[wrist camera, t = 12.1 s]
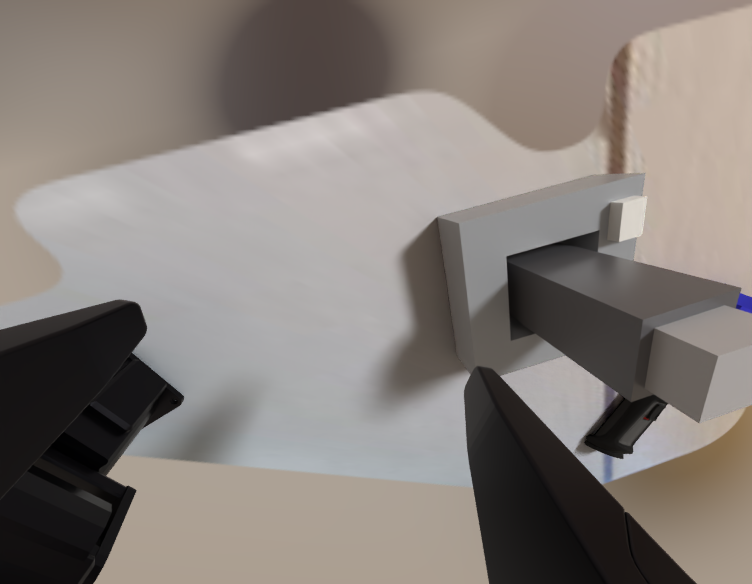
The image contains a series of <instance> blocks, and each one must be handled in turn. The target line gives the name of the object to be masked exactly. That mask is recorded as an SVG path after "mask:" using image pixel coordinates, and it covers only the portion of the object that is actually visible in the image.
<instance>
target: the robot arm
mask: <svg viewBox="0 0 752 584" xmlns="http://www.w3.org/2000/svg"><path fill="white" fill-rule="evenodd" d="M146 331H147V325H146V322H145V319H144V316H143V313H142V310H141V307H140V306H139V304H138V303H136V302H132V301H127V300H114V301H111V302H107V303H103V304H99V305H95V306H91V307H87V308H83V309H79V310H76V311H72V312H68V313H64V314H60V315H56V316H52V317H48V318H44V319H41V320H37V321H33V322H29V323H25V324H21V325H17V326H13V327H10V328H6V329H2V330H0V584H93V583H94V582H95V580H96V578H97V577H98V575H99V573H100V572H101V570H102V568H103V566H104V564H105V562H106V560H107V558H108V556H109V554H110V551H111V549H112V547H113V544H114V542H115V540H116V537H117V535H118V533H119V530H120V528H121V526H122V523H123V521H124V519H125V516H126V514H127V511H128V509H129V507H130V504H131V502H132V500H133V497H134V495H135V493H136V490H135V489H133V488H132V487H130V486H126V487H125V486H124V485H122V484H120V483H118V482H116V481H114V480H112V479H110V478H108V477H107V476H106V475H107V474H108V472H109V471H110V470H111V469H112V467H113V466H114V464H115V463H116V462H117V461H118V459H119V458H120V457H121V455H122V454H123V453H124V451H125V450H126V449H127V448H128V446H129V445H130V444H131V442H132V441H133V440H134V438H135V437H136V436H137V434H138V433H139V432H140V430H141V429H142V428H144V427H146V426H147V425H149V424H151V423H152V422H154V421H156V420H157V419H159V418H160V417H162V416H164V415H165V414H167V413H169V412H170V411H172V410H173V409H175V408H177V407H178V406H180V405H181V403H182V402H183V400H184V396H183V395H182V394H181V393H180V392H178V391H177V390H176V389H175V388H174V387H172V386H171V385H170V384H169V383H168V382H166V381H165V380H164V379H163V378H161V377H160V376H159V375H158V374H157V373H155V372H154V371H153V370H152V369H151V368H149V367H148V366H147V365H146V364H145V363H143V362H142V361H141V360H140V359H139V358H137V357H136V356H135V355H134V354H133V353H132V351H133V350H134V349H135V348H136V346H137V345H138V344H139V342H140V341H141V340H142V339H143V337H144V336H145V334H146ZM174 399H176V400H177V401H175V400H174ZM464 402H465V420H466V437H467V451H468V458H469V465H470V471H471V477H472V483H473V489H474V495H475V501H476V507H477V513H478V519H479V525H480V531H481V537H482V543H483V549H484V555H485V561H486V567H487V573H488V579H489V584H696V582H695V581H694V580H693V579H691V578H690V577H689V576H688V575H687V574H686V573H685V571H684V570H683V569H682V568H681V567H680V566H679V565H678V564H677V563H676V562H675V561H674V560H673V559H672V558H671V557H670V556H669V555H668V554H667V553H666V552H665V551H664V550H663V549H662V548H661V547H660V546H659V545H658V544H657V542H655V540H654V539H653V538H652V537H651V536H650V535H649V534H648V533H647V532H646V531H645V530H644V529H643V528H642V527H641V526H640V525H639V524H638V523H637V521H636V520H635V519H634V518H633V517H632V516H631V515H630V514H629V513H627V512H625V511H624V509H623V507H622V506H621V505H620V504H619V502H618V501H617V500H616V499H615V498H614V497H613V496H612V495H611V494H610V493H609V492H608V491H607V490H606V489H605V488H604V486H603V485H602V484H601V483H600V482H599V481H598V480H597V479H596V478H595V477H594V476H593V475H592V474H591V473H590V472H589V471H588V469H587V468H586V467H585V466H584V465H583V464H582V463H581V462H580V461H579V460H578V459H577V458H576V457H575V456H574V455H573V454H572V452H571V451H570V450H569V449H568V448H567V447H566V446H565V445H564V444H563V443H562V442H561V441H560V440H559V439H558V438H557V437H556V435H555V434H554V433H553V432H552V431H551V430H550V429H549V428H548V427H547V426H546V425H545V424H544V423H543V422H542V421H541V420H540V418H539V417H538V416H537V415H536V414H535V413H534V412H533V411H532V410H531V409H530V408H529V407H528V406H527V405H526V404H525V403H524V401H523V400H522V399H521V398H520V397H519V396H518V395H517V394H516V393H515V392H514V391H513V390H512V389H511V388H510V387H509V386H508V384H507V383H506V382H505V381H504V380H503V379H502V378H501V377H500V376H499V375H498V374H497V373H496V372H495V371H494V370H493V369H492V368H489V367H483V366H476V367H475V368H474V369H473V371H472V373H471V375H470V377H469V379H468V382H467V384H466V386H465V390H464Z"/></svg>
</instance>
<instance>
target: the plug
mask: <svg viewBox="0 0 752 584" xmlns="http://www.w3.org/2000/svg"><path fill="white" fill-rule="evenodd" d="M506 259H507V279H508V298H509V315H510V316H512V317H513V318H514V319H516V320H517V321H519V322H520V323H521V324H523V325H524V326H525V327H527V328H528V329H530V330H531V331H532V332H534V333H535V334H537V335H538V336H539V337H541V338H542V339H544V340H545V341H546V342H548V343H549V344H551V345H552V346H553V347H555V348H556V349H558V350H559V351H560V352H562V353H563V354H565V355H566V356H567V357H569V358H570V359H571V360H573V361H574V362H576V363H577V364H578V365H580V366H581V367H583V368H584V369H585V370H587V371H588V372H590V373H591V374H592V375H594V376H595V377H597V378H598V379H599V380H601V381H602V382H604V383H605V384H606V385H608V386H609V387H611V388H612V389H613V390H615V391H616V392H618V393H619V394H620V395H622V396H623V397H624V398H626V399H627V400H629V401H630V402H633V401H636V400H639V399H642V398H645V397H648V396H651V395H653V394H654V395H656V396H658V397H659V398H661V399H662V400H664V401H665V402H667V403H668V404H670V405H672V406H673V407H675V408H676V409H678V410H679V411H681V412H682V413H684V414H686V415H687V416H689V417H690V418H692V419H693V420H695V421H696V422H698V423H702V422H704V421H707V420H710V419H713V418H716V417H719V416H722V415H724V414H727V413H730V412H733V411H736V410H739V409H741V408H744V407H747V406H750V405H752V313H748V312H745V311H742V310H739V309H736V305H737V302H738V298H739V295H740V291H741V288H739V287H735V286H731V285H727V284H723V283H719V282H715V281H711V280H707V279H703V278H699V277H695V276H691V275H687V274H683V273H679V272H675V271H671V270H667V269H663V268H659V267H655V266H651V265H647V264H643V263H639V262H635V261H631V260H627V259H623V258H619V257H615V256H611V255H607V254H603V253H599V252H595V251H591V250H587V249H583V248H579V247H575V246H571V245H567V244H563V243H559V242H555V243H552V244H548V245H545V246H541V247H538V248H534V249H531V250H527V251H524V252H520V253H516V254H513V255H509V256H506Z"/></svg>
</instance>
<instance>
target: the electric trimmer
mask: <svg viewBox="0 0 752 584" xmlns="http://www.w3.org/2000/svg"><path fill="white" fill-rule="evenodd" d="M667 404H668V403H667V402H665V401H664V400H662V399H661V398H659V397H658V396H656V395H654V394H653V395H651V396H648V397H645V398H642V399H639V400H636V401H633V402H630V401H629V400H627V399H625V400H624V401H623V402H622V403H621V405H620V406H619V407H618V408H617V409H616V411H615V412H614V413H613V414H612V415H611V416H610V418H609V419H608V420H607V421H606V422H605V424H604V425H603V426H602V427H601V428H600V430H599V431H598V432H597V433H596V434H595V435H592V436H589V435H588V436H587V437H586V439H587V441H586V442H585V445H587V446H589V447H591V448H593V449H595V450H597V451H599V452H602V453H604V454H607V455H609V456H612V457H616V458H620V459H623V454H632V453H633V445H634V444H635V442H636V441H637V440H638V439H639V437H640V436H641V435H642V434H643V433H644V432H645V430H646V429H647V428H648V427H649V426H650V424H651V423H652V422H653V421H656V419H657V417H658V416H659V415H660V413H661V412H662V411H663V409H664V408H666V405H667Z"/></svg>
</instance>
